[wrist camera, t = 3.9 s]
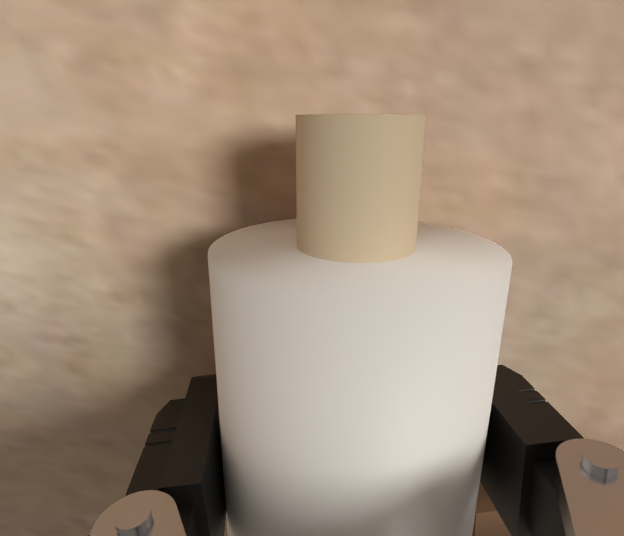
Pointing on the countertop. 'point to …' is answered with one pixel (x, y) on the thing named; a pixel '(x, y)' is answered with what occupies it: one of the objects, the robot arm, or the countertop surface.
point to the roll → (355, 347)
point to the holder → (487, 518)
